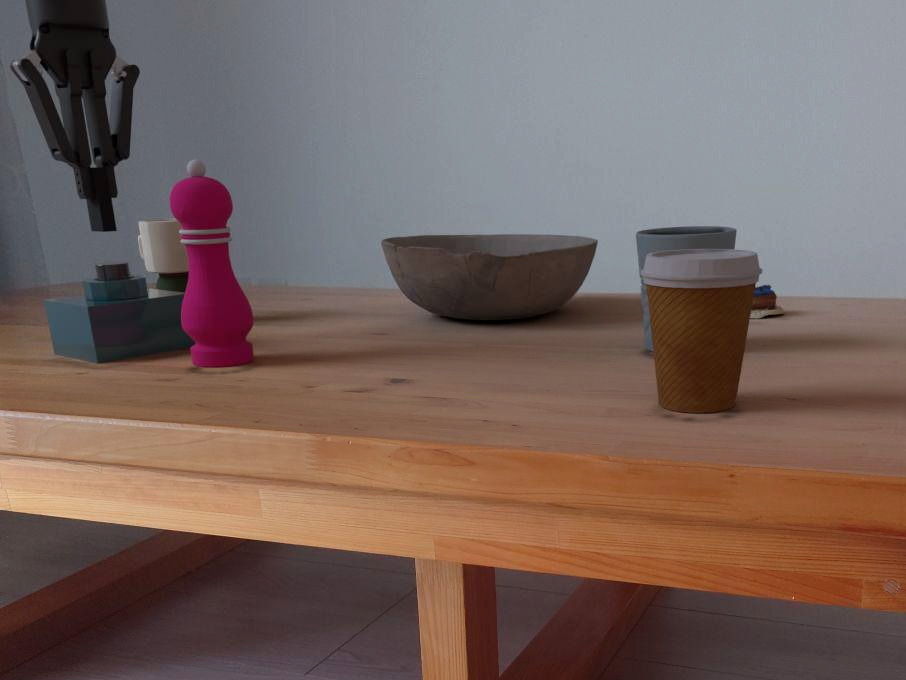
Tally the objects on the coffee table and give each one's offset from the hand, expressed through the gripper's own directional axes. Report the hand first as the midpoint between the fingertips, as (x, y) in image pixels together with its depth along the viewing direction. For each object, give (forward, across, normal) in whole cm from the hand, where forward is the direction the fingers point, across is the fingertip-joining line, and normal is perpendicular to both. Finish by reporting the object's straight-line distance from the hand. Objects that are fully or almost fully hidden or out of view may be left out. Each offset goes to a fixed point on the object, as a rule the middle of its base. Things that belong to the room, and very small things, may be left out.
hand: (104, 230), depth 110 cm
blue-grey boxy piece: (+13, 0, 0) cm, 13 cm away
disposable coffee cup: (+13, +14, -67) cm, 70 cm away
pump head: (+6, 0, 0) cm, 6 cm away
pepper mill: (+13, +3, -16) cm, 21 cm away
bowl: (+13, +42, -18) cm, 47 cm away
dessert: (+13, +59, -47) cm, 77 cm away
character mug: (+13, +15, +13) cm, 24 cm away
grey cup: (+13, +35, -52) cm, 64 cm away
